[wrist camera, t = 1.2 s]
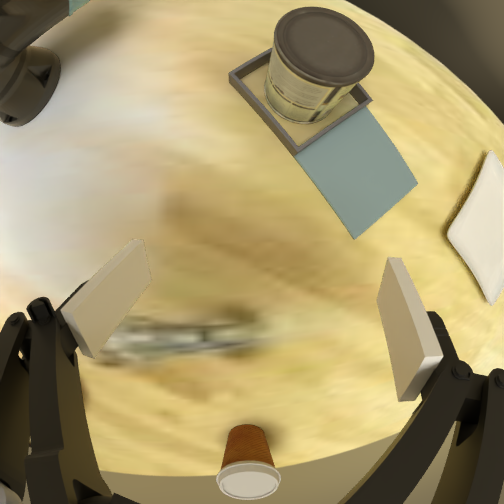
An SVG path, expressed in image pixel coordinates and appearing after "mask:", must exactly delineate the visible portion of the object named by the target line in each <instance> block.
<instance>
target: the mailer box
mask: <svg viewBox="0 0 504 504" xmlns="http://www.w3.org/2000/svg"><path fill="white" fill-rule="evenodd" d="M272 48H273V47H272ZM272 48H270V49H268V50H267V51H265V52H263V53H261V54H259V55H258V56H256V57H254V58H252V59H251V60H249V61H247V62H246V63H244V64H242V65H241V66H239V67H237V68H236V69H234V70H233V71H231V72H229V83H230V84H231V85H232V86H233V87H234V88H235V89H236V90H237V91H238V92H239V93H240V95H241V96H242V97H243V98H244V99H245V100H246V101H247V102H248V103H249V105H250V106H251V107H252V108H253V109H254V110H255V111H256V112H257V114H258V115H259V116H260V117H261V118H262V119H263V121H264V122H265V123H266V124H267V125H268V126H269V128H270V129H271V130H272V131H273V132H274V134H275V135H276V136H277V137H278V138H279V140H280V141H281V142H282V143H283V144H284V146H285V147H286V148H287V149H288V151H289V152H290V153H291V154H292V156H293V157H294V158H295V159H296V161H297V162H298V163H299V164H300V166H301V167H302V168H303V170H304V171H305V172H306V174H307V175H308V176H309V177H310V179H311V180H312V181H313V183H314V184H315V185H316V187H317V188H318V189H319V191H320V192H321V193H322V195H323V196H324V198H325V199H326V200H327V202H328V203H329V204H330V206H331V207H332V209H333V210H334V211H335V213H336V214H337V216H338V217H339V219H340V220H341V221H342V223H343V224H344V226H345V227H346V229H347V230H348V232H349V233H350V235H351V236H352V238H353V239H356V238H357V237H358V236H360V235H361V234H362V233H363V232H364V231H365V230H367V229H368V228H369V227H370V226H371V225H372V224H374V223H375V222H376V221H377V220H378V219H379V218H380V217H382V216H383V215H384V214H385V213H386V212H387V211H388V210H390V209H391V208H392V207H393V206H394V205H395V204H396V203H397V202H399V201H400V200H401V199H402V198H403V197H404V196H405V195H406V194H407V193H409V192H410V191H411V190H412V189H413V188H414V187H415V186H416V185H417V184H418V182H417V181H416V179H415V177H414V176H413V174H412V172H411V171H410V169H409V167H408V166H407V164H406V163H405V161H404V159H403V158H402V156H401V155H400V153H399V152H398V150H397V149H396V147H395V146H394V144H393V143H392V141H391V140H390V138H389V137H388V135H387V134H386V133H385V131H384V130H383V128H382V127H381V126H380V124H379V123H378V122H377V120H376V119H375V118H374V116H373V115H372V114H371V112H370V111H369V110H368V108H367V107H366V105H368V104H369V103H370V102H371V101H373V100H372V99H371V97H370V96H369V95H368V94H367V92H366V91H365V90H364V89H363V87H362V86H361V85H360V84H359V83H357V84H356V85H355V86H354V87H353V88H352V89H351V90H350V91H349V92H350V94H351V95H352V96H353V97H354V98H355V100H356V101H357V102H358V103H359V105H358V106H357V107H355V108H354V109H352V110H351V111H349V112H348V113H347V114H345V115H344V116H342V117H341V118H339V119H338V120H336V121H335V122H333V123H332V124H330V125H329V126H327V127H326V128H325V129H323V130H322V131H320V132H319V133H317V134H316V135H315V136H313V137H312V138H310V139H309V140H308V141H306V142H305V143H303V144H302V145H301V146H299V147H298V146H297V145H296V143H295V142H294V141H293V140H292V138H291V137H290V136H289V135H288V134H287V132H286V131H285V130H284V129H283V128H282V126H281V125H280V124H279V123H278V122H277V121H276V119H275V118H274V117H273V116H272V115H271V114H270V112H269V111H268V110H267V109H266V108H265V107H264V106H263V104H262V103H261V102H260V101H259V100H258V99H257V98H256V97H255V96H254V94H253V93H252V92H251V91H250V90H249V89H248V88H247V87H246V86H245V85H244V84H243V83H242V81H241V80H240V79H241V78H242V77H244V76H246V75H247V74H249V73H251V72H252V71H254V70H255V69H257V68H259V67H260V66H262V65H264V64H266V63H267V62H269V61H270V57H271V53H272Z"/></svg>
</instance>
